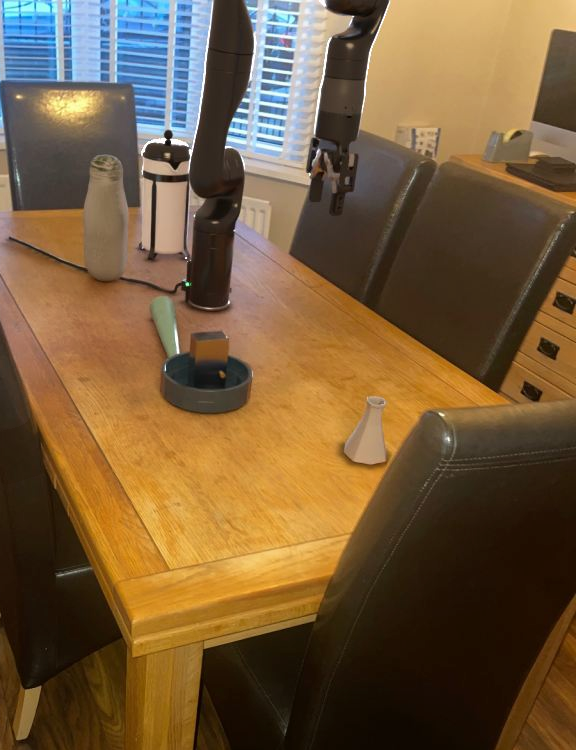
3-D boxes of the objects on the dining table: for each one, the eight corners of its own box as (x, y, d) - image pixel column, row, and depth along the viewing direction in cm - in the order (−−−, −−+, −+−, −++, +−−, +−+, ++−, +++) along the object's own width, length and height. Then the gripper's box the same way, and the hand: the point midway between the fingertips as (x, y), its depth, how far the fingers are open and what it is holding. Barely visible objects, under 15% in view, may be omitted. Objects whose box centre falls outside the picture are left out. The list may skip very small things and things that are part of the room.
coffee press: (204, 252, 211) (212, 130, 193) (171, 266, 200) (177, 139, 182) (151, 238, 218) (155, 119, 200) (117, 252, 207) (117, 127, 189)
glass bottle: (78, 282, 187) (74, 156, 171) (98, 269, 195) (96, 148, 178) (115, 290, 184) (115, 162, 168) (134, 277, 192) (135, 154, 176)
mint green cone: (164, 349, 146) (149, 295, 168) (163, 375, 150) (149, 320, 171) (193, 348, 147) (174, 295, 169) (191, 375, 150) (173, 320, 172)
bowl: (142, 395, 142) (142, 370, 140) (196, 367, 153) (197, 343, 150) (215, 426, 135) (217, 400, 132) (266, 394, 146) (269, 369, 143)
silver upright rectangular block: (216, 383, 146) (221, 328, 140) (225, 395, 143) (230, 340, 136) (186, 386, 145) (189, 331, 138) (194, 399, 141) (198, 342, 135)
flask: (338, 442, 133) (348, 389, 127) (379, 442, 134) (392, 390, 128) (348, 465, 127) (360, 411, 121) (392, 465, 128) (405, 411, 122)
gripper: (301, 99, 135) (289, 198, 144) (338, 115, 124) (322, 220, 134) (340, 100, 137) (326, 197, 146) (380, 115, 126) (362, 219, 136)
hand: (324, 208), depth 140 cm, fingers open, 8 cm apart
